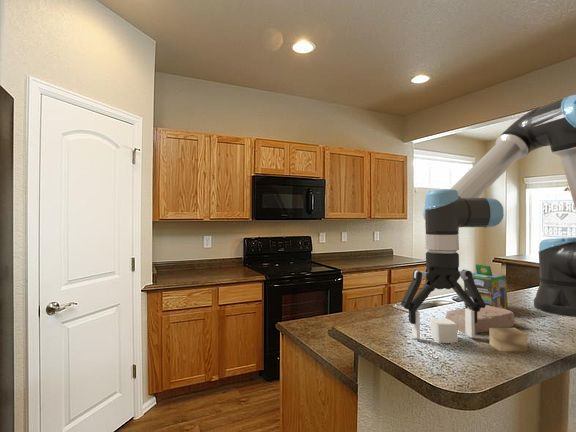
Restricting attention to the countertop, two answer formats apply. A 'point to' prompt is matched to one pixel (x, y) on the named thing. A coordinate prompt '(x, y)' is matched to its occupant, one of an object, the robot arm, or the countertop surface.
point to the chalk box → (490, 287)
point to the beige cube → (444, 330)
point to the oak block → (508, 339)
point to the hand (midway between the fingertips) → (443, 336)
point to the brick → (483, 318)
